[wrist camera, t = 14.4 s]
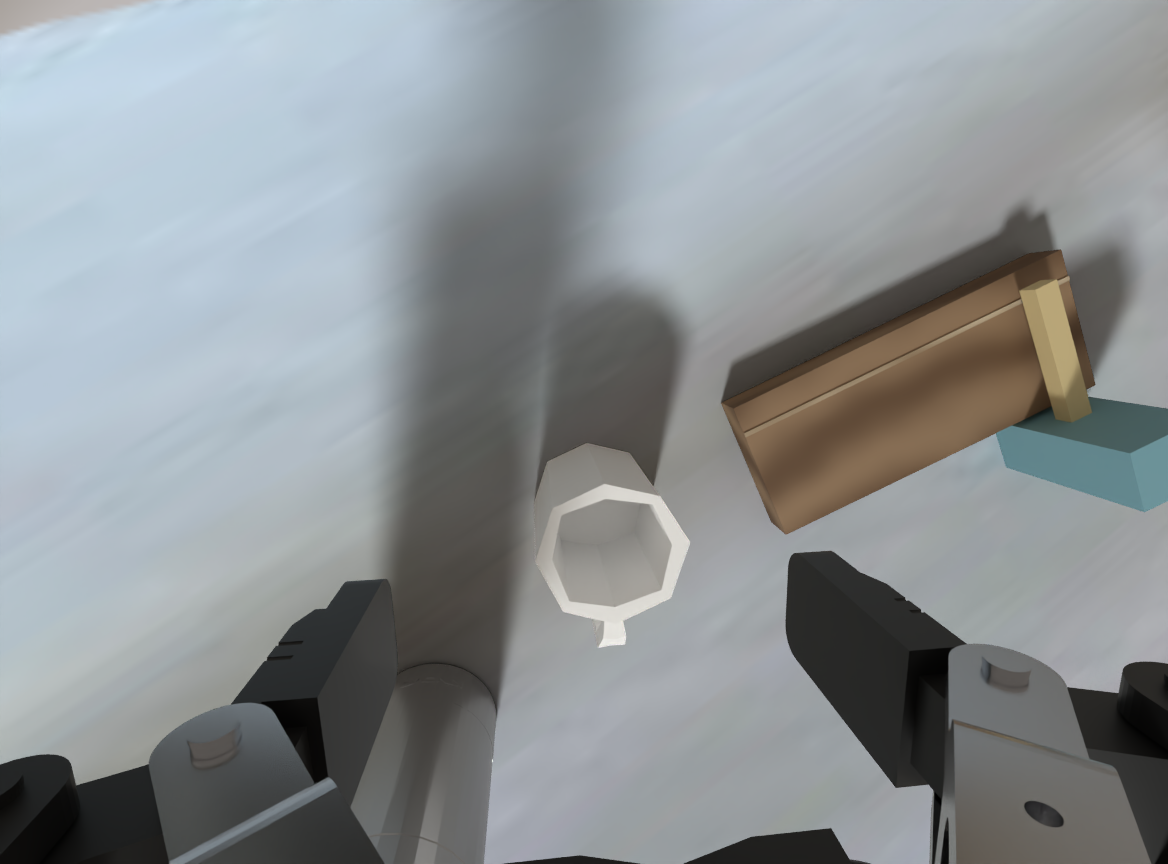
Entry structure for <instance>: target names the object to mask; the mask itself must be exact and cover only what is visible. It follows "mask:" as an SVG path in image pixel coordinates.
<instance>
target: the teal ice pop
mask: <svg viewBox="0 0 1168 864" xmlns="http://www.w3.org/2000/svg"><path fill="white" fill-rule="evenodd" d="M1019 291H1020V295H1021V298H1022V303H1023V306H1024V309H1025V313H1026V316H1027V320H1028V323H1029V327H1030V330H1031V334H1032V338H1033V341H1034V345H1035V348H1036V352H1037V355H1038V359H1039V362H1040V366H1041V369H1042V373H1043V377H1044V380H1045V384H1046V387H1047V391H1048V394H1049V398H1050V401H1051V405H1052V406H1051V407H1049V408H1047V409H1045V410H1043V411H1041V412H1039V413H1037V414H1034V415H1032V416H1030V417H1028V418H1026V419H1024V420H1022V421H1020V422H1018V423H1016V424H1014V425H1012V426H1010V427H1008V428H1005V429H1003V430H1001V431H999V432H997V433H996V435H997V439H998V442H999V445H1000V448H1001V451H1002V455H1003V458H1004V461H1005V464H1006V467H1007V468H1010V469H1013V470H1016V471H1019V472H1022V473H1026V474H1029V475H1032V476H1035V477H1038V478H1041V479H1044V480H1047V481H1050V482H1053V483H1056V484H1059V485H1063V486H1066V487H1069V488H1072V489H1075V490H1078V491H1081V492H1084V493H1087V494H1090V495H1093V496H1096V497H1099V498H1103V499H1106V500H1109V501H1112V502H1115V503H1118V504H1121V505H1124V506H1127V507H1130V508H1133V509H1136V510H1139V511H1143V512H1146V511H1148V510H1150V509H1152V508H1154V507H1156V506H1158V505H1160V504H1162V503H1165V502H1167V501H1168V409H1166V408H1159V407H1153V406H1146V405H1139V404H1133V403H1126V402H1119V401H1113V400H1106V399H1099V398H1093V397H1088V395H1087V391H1086V387H1085V383H1084V380H1083V376H1082V372H1081V368H1080V365H1079V361H1078V357H1077V353H1076V349H1075V346H1074V342H1073V338H1072V334H1071V331H1070V327H1069V323H1068V319H1067V315H1066V312H1065V308H1064V304H1063V300H1062V297H1061V293H1060V289H1059V285H1058V281H1057V279H1052V280H1040V281H1038V282H1036V283H1034V284H1032V285H1030V286H1028V287H1026V288H1023V289H1021V290H1019Z"/></svg>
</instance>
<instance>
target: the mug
mask: <svg viewBox="0 0 1168 864" xmlns="http://www.w3.org/2000/svg"><path fill="white" fill-rule="evenodd" d="M534 528H535V562H536V564H537V566H538V567H539V569H540V571H541V573H542V575H543V576H544V578H545V580H546V582H547V584H548V585H549V587H550V589H551V591H552V593H553V594H554V596H555V598H556V600H557V602H558V603H559V605H560V607H561V609H562V610H563V612H566V613H570V614H574V615H579V616H583V617H587V618H592V622H593V627H594V631H595V636H596V641H597V646H598V648H600V647H605V646H609V645H625V640H626V633H625V628H624V623H623V621H624V620H626V619H628V618H630V617H632V616H634V615H637V614H639V613H641V612H643V611H645V610H647V609H649V608H651V607H653V606H655V605H657V604H660V603H662V602H664V601H666V600H668V599H670V598H671V596H672V593H673V590H674V587H675V585H676V582H677V579H678V576H679V573H680V570H681V568H682V565H683V562H684V559H685V556H686V553H687V551H688V548H689V545H690V541H689V540H688V538H687V537H686V535H685V534H684V532H683V531H682V529H681V527H680V526H679V524H678V523H677V521H676V520H675V518H674V517H673V515H672V514H671V512H670V511H669V509H668V507H667V506H666V504H665V503H664V501H663V500H662V498H661V497H660V495H659V494H658V492H657V491H656V490H655V488H654V487H653V485H652V484H651V483H650V481H649V480H648V478H647V477H646V475H645V474H644V473H643V471H642V470H641V468H640V467H639V466H638V464H637V463H636V461H635V460H634V458H633V457H632V456H631V454H630V453H629V452H625V451H620V450H616V449H612V448H607V447H603V446H598V445H594V444H590V443H585V444H583V445H581V446H579V447H577V448H575V449H573V450H570V451H568V452H566V453H564V454H562V455H560V456H558V457H556V458H554V459H551V460H549V461H547V464H546V467H545V470H544V473H543V476H542V479H541V482H540V485H539V489H538V492H537V495H536V498H535V501H534Z"/></svg>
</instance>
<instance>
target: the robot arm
mask: <svg viewBox="0 0 1168 864" xmlns="http://www.w3.org/2000/svg"><path fill="white" fill-rule="evenodd" d="M786 635H787V640H788V643H789V646H790V649H791V651H792V653H793V655H794V657H795V658H796V660H797V661H798V662H799V663H800V665H801V666H802V667H803V669H804V670H805V671H806V672H807V674H808V675H809V676H810V678H811V679H812V680H813V681H814V683H815V684H816V685H817V687H818V688H819V689H820V691H821V692H822V693H823V694H824V696H825V697H826V698H827V700H828V701H829V702H830V703H831V705H832V706H833V707H834V709H835V710H836V711H837V712H838V714H839V715H840V716H841V718H842V719H843V720H844V721H845V723H846V724H847V725H848V727H849V728H850V729H851V730H852V732H853V733H854V734H855V736H856V737H857V738H858V739H859V741H860V742H861V743H862V745H863V746H864V747H865V749H866V750H867V751H868V752H869V754H870V755H871V756H872V758H873V759H874V760H875V761H876V763H877V764H878V765H879V767H880V768H881V769H882V770H883V772H884V773H885V774H886V776H887V777H888V778H889V779H890V781H891V782H892V783H893V785H894V786H895V787H896V788H899V787H909V786H919V785H928V784H929V785H930V787H931V788H932V789H933V798H932V807H931V828H930V859H929V864H1168V664H1165V663H1158V662H1135V663H1131V664H1128V665H1127V666H1125V667H1124V669H1123V672H1122V678H1121V683H1120V689H1119V693H1111V692H1103V691H1094V690H1086V689H1077V688H1069V687H1067V686H1066V684H1065V682H1064V680H1063V679H1062V678H1061V676H1060V675H1059V674H1057V673H1056V672H1055V671H1054V670H1053V669H1051V668H1050V667H1048V666H1047V665H1045V664H1044V663H1042V662H1040V661H1038V660H1036V659H1034V658H1032V657H1030V656H1028V655H1025V654H1023V653H1020V652H1017V651H1014V650H1011V649H1007V648H1003V647H999V646H994V645H987V644H966V643H965V642H963V641H962V640H961V639H959V638H958V637H957V636H955V635H954V634H953V633H951V632H950V631H949V630H947V629H946V628H945V627H943V626H942V625H941V624H939V623H938V622H937V621H935V620H934V619H933V618H931V617H930V616H929V615H927V614H926V613H925V612H924V613H921V609H919V608H918V607H917V606H915V605H914V604H913V603H911V602H910V601H906V600H905V597H903V596H902V595H901V594H899V593H898V592H897V591H895V590H894V589H893V588H891V587H890V586H889V585H887V584H886V583H883V582H881V581H879V580H876V579H874V578H872V577H870V576H867V575H865V574H863V573H860V572H859V571H857V570H856V569H855V568H854V567H852V566H851V565H850V564H848V563H847V562H846V561H845V560H843V559H842V558H841V557H839V556H838V555H837V554H836V553H834V552H832V551H821V552H805V553H794V554H793V555H792V556H791V558H790V560H789V566H788V584H787V604H786ZM397 667H398V654H397V643H396V634H395V624H394V614H393V605H392V595H391V588H390V584H389V582H388V580H387V579H378V580H363V581H347V582H345V583H344V584H343V586H342V587H341V588H340V590H339V591H338V593H337V594H336V596H335V597H334V598H333V600H332V601H331V603H330V604H329V606H328V607H327V608H326V609H315V610H314V611H312V612H311V613H309V614H308V615H306V616H305V617H303V618H302V619H300V620H299V621H298V622H296V623H295V624H293V625H292V626H291V627H290V629H289V630H288V631H287V633H286V634H285V635H284V636H283V638H282V639H281V640H280V642H279V645H278V646H276V647H275V648H274V649H273V651H272V652H271V653H270V654H269V656H268V657H267V661H264V662H263V664H262V665H261V666H260V667H259V669H258V670H257V671H256V673H255V674H254V675H253V676H252V678H251V679H250V680H249V682H248V683H247V684H246V685H245V687H244V688H243V689H242V691H241V692H240V693H239V695H238V696H237V697H236V698H235V700H234V701H233V702H232V704H231V705H227V706H223V707H220V708H216V709H213V710H210V711H208V712H205V713H203V714H201V715H198V716H196V717H194V718H192V719H190V720H189V721H187V722H185V723H183V724H182V725H180V726H179V727H177V728H176V729H174V730H173V731H172V732H171V733H169V734H168V735H167V736H166V737H165V738H164V739H163V740H162V741H161V742H160V743H159V744H158V745H157V746H156V748H155V749H154V751H153V752H152V754H151V756H150V760H149V764H148V765H145V766H142V767H139V768H135V769H132V770H128V771H125V772H121V773H118V774H115V775H111V776H108V777H104V778H101V779H97V780H94V781H90V782H87V783H83V784H80V785H76V783H75V779H74V775H73V771H72V766H71V763H70V762H69V760H68V759H66V758H64V757H62V756H59V755H49V754H47V755H36V756H30V757H25V758H21V759H17V760H13V761H10V762H7V763H4V764H1V765H0V864H484V854H485V843H486V831H487V819H488V808H489V796H490V784H491V773H492V762H493V751H494V739H495V726H496V709H495V703H494V700H493V698H492V696H491V694H490V692H489V690H488V689H487V688H486V686H485V685H484V684H483V683H482V682H481V681H480V680H479V679H478V678H477V677H475V676H474V675H473V674H471V673H469V672H467V671H465V670H464V669H461V668H458V667H455V666H451V665H445V664H424V665H420V666H416V667H412V668H409V669H407V670H405V671H403V672H401V673H399V674H398V675H397ZM506 864H638V863H631V862H624V861H616V860H609V859H602V858H595V857H587V856H570V857H561V858H552V859H543V860H533V861H524V862H515V863H506ZM684 864H870V863H866V862H862V861H856V860H850V859H849V858H848V856H847V855H846V853H845V851H844V849H843V848H842V846H841V844H840V843H839V841H838V839H837V838H836V836H835V834H834V832H833V831H832V829H831V828H829V829H820V830H811V831H802V832H792V833H783V834H774V835H765V836H755V837H750V838H747V839H745V840H742V841H740V842H737V843H735V844H732V845H730V846H727V847H725V848H722V849H720V850H717V851H715V852H712V853H710V854H707V855H705V856H702V857H699V858H697V859H694V860H692V861H689V862H687V863H684Z"/></svg>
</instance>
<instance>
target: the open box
mask: <svg viewBox="0 0 1168 864" xmlns="http://www.w3.org/2000/svg"><path fill="white" fill-rule="evenodd" d="M1052 279H1057V281H1058V285H1059V289H1060V293H1061V297H1062V300H1063V304H1064V308H1065V312H1066V315H1067V319H1068V323H1069V327H1070V331H1071V334H1072V338H1073V342H1074V346H1075V349H1076V353H1077V357H1078V361H1079V365H1080V368H1081V372H1082V376H1083V380H1084V383H1085V387H1086V389H1088V388H1090V387H1092V386H1094V385H1095V381H1094V377H1093V373H1092V369H1091V365H1090V361H1089V357H1088V354H1087V350H1086V346H1085V342H1084V338H1083V334H1082V330H1081V326H1080V322H1079V318H1078V314H1077V310H1076V306H1075V302H1074V298H1073V294H1072V290H1071V287H1070V283H1069V280H1070V277H1069V276H1068V275H1067V271H1066V267H1065V263H1064V259H1063V255H1062V251H1061V250H1053V251H1044V252H1036V253H1029V254H1026V255H1024V256H1022V257H1020V258H1018V259H1016V260H1014V261H1012V262H1010V263H1008V264H1006V265H1004V266H1002V267H1000V268H998V269H996V270H994V271H991V272H989V273H987V274H985V275H983V276H981V277H979V278H977V279H975V280H973V281H971V282H969V283H967V284H965V285H963V286H961V287H959V288H957V289H954V290H952V291H950V292H948V293H946V294H944V295H942V296H940V297H938V298H936V299H934V300H932V301H930V302H928V303H926V304H924V305H922V306H919V307H917V308H915V309H913V310H911V311H909V312H907V313H905V314H903V315H901V316H899V317H897V318H895V319H893V320H891V321H889V322H887V323H885V324H882V325H880V326H878V327H876V328H874V329H872V330H870V331H868V332H866V333H864V334H862V335H860V336H858V337H856V338H854V339H852V340H850V341H847V342H845V343H843V344H841V345H839V346H837V347H835V348H833V349H831V350H829V351H827V352H825V353H823V354H821V355H819V356H817V357H815V358H813V359H810V360H808V361H806V362H804V363H802V364H800V365H798V366H796V367H794V368H792V369H790V370H788V371H786V372H784V373H782V374H780V375H778V376H775V377H773V378H771V379H769V380H767V381H765V382H763V383H761V384H759V385H757V386H755V387H753V388H751V389H749V390H747V391H745V392H743V393H741V394H738V395H736V396H734V397H732V398H730V399H728V400H726V401H724V402H722V403H721V404H722V406H723V408H724V411H725V413H726V416H727V418H728V420H729V423H730V425H731V427H732V430H733V432H734V435H735V437H736V439H737V442H738V444H739V446H740V449H741V451H742V454H743V456H744V458H745V461H746V463H747V465H748V468H749V470H750V472H751V475H752V477H753V480H754V482H755V484H756V487H757V489H758V491H759V494H760V496H761V499H762V501H763V503H764V506H765V508H766V510H767V513H768V515H769V518H770V520H771V522H772V523H773V524H774V525H775V526H777V527H778V528H779V529H780V530H781V531H782V532H784V533H785V534H788V533H790V532H793V531H795V530H797V529H799V528H801V527H803V526H805V525H807V524H809V523H811V522H813V521H815V520H817V519H819V518H821V517H824V516H826V515H828V514H830V513H832V512H834V511H836V510H838V509H840V508H842V507H844V506H846V505H848V504H850V503H853V502H855V501H857V500H859V499H861V498H863V497H865V496H867V495H869V494H871V493H873V492H875V491H877V490H879V489H881V488H884V487H886V486H888V485H890V484H892V483H894V482H896V481H898V480H900V479H902V478H904V477H906V476H908V475H910V474H912V473H915V472H917V471H919V470H921V469H923V468H925V467H927V466H929V465H931V464H933V463H935V462H937V461H939V460H941V459H943V458H946V457H948V456H950V455H952V454H954V453H956V452H958V451H960V450H962V449H964V448H966V447H968V446H970V445H972V444H974V443H977V442H979V441H981V440H983V439H985V438H987V437H989V436H991V435H993V434H995V433H997V432H999V431H1001V430H1003V429H1005V428H1008V427H1010V426H1012V425H1014V424H1016V423H1018V422H1020V421H1022V420H1024V419H1026V418H1028V417H1030V416H1032V415H1034V414H1037V413H1039V412H1041V411H1043V410H1045V409H1047V408H1049V407H1051V406H1052V405H1051V401H1050V398H1049V394H1048V391H1047V387H1046V384H1045V380H1044V377H1043V373H1042V369H1041V366H1040V362H1039V359H1038V355H1037V352H1036V348H1035V345H1034V341H1033V338H1032V334H1031V330H1030V327H1029V323H1028V320H1027V316H1026V313H1025V309H1024V306H1023V303H1022V298H1021V295H1020V291H1019V290H1021V289H1023V288H1026V287H1028V286H1030V285H1032V284H1034V283H1036V282H1038V281H1040V280H1052Z"/></svg>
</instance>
